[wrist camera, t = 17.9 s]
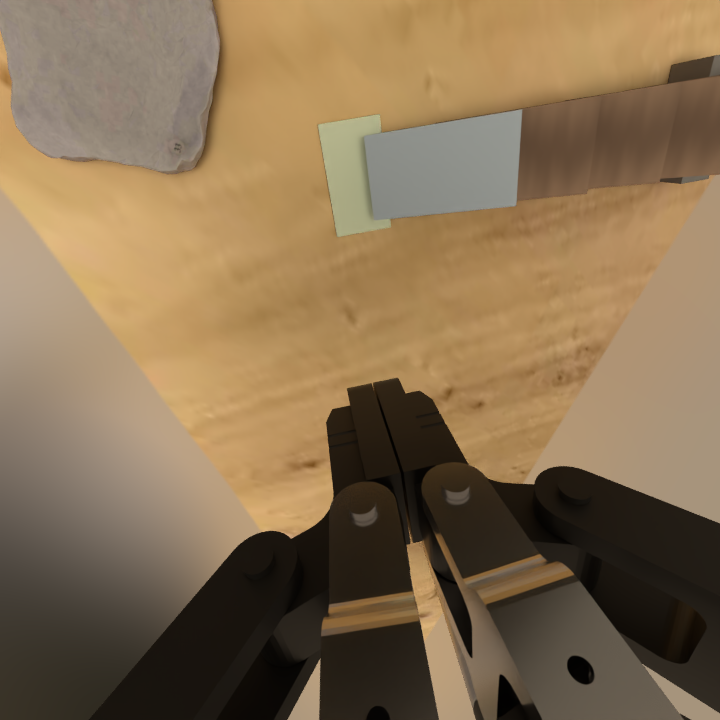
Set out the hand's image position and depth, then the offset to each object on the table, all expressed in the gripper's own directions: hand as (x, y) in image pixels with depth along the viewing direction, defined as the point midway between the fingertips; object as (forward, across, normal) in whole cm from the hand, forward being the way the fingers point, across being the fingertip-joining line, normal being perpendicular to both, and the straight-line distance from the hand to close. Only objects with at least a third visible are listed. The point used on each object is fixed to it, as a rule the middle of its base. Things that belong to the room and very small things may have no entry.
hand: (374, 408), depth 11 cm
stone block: (+20, +9, -13) cm, 25 cm away
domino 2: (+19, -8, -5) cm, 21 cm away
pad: (+19, -3, -5) cm, 20 cm away
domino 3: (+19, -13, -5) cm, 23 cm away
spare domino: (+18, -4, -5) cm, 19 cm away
